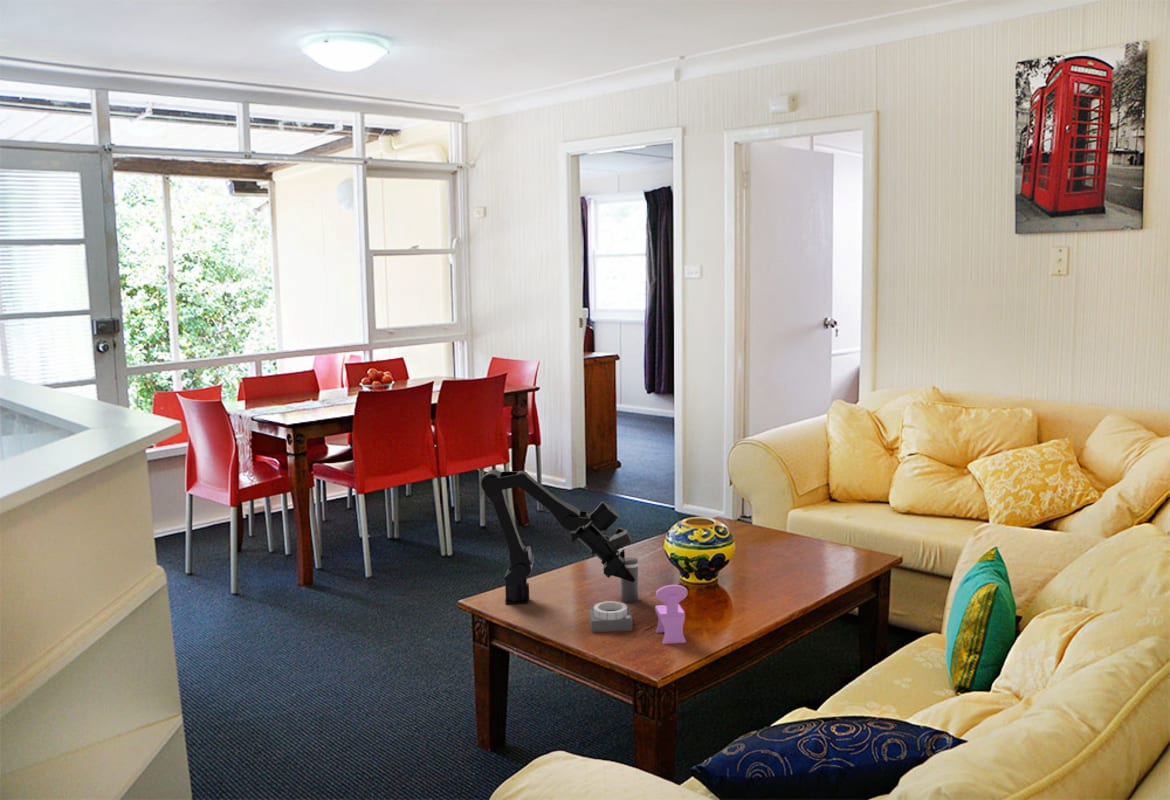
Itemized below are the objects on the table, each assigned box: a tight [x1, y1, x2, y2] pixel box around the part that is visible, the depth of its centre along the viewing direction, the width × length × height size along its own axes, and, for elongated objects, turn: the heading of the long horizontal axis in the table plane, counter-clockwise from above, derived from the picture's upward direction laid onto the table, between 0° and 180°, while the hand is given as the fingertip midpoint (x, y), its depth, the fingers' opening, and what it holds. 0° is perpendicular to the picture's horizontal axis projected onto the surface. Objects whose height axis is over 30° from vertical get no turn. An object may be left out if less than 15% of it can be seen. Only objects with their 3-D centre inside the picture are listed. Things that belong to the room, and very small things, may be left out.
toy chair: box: [654, 584, 688, 645], centre depth 249 cm, size 8×9×15 cm
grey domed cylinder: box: [620, 556, 639, 604], centre depth 277 cm, size 5×5×12 cm
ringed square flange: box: [588, 600, 634, 633], centre depth 258 cm, size 11×10×5 cm
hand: (634, 577), depth 277 cm, fingers closed on grey domed cylinder, 5 cm apart
